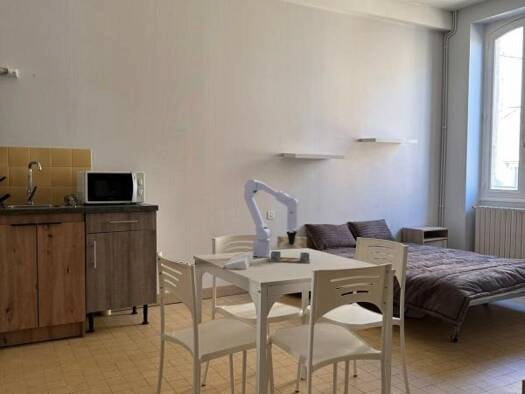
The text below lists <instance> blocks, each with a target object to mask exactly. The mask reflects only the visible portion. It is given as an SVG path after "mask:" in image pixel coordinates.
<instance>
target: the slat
mask: <svg viewBox="0 0 525 394" xmlns="http://www.w3.org/2000/svg"><path fill="white" fill-rule="evenodd" d="M276 240H277V243H276V248H281V249H282V248H283V249H286V248H287V249H288V248H289V249H307V236H295V239H294V244H293V245H290V244H289V238H288V235H285V236H284V235H280V236H279V235H278V236H277V239H276Z"/></svg>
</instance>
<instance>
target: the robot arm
mask: <svg viewBox="0 0 525 394" xmlns="http://www.w3.org/2000/svg"><path fill="white" fill-rule="evenodd" d="M243 187H244V195H243V196H244V197H243V198H244V200H245V203H246V205H247V207H248V211H249V212H250V215H251V218H252V220H253V222H254V224H255V232H256V233H255V234H256V238H257V240H255V239H254V240H253V250H252V254H253V256H257V258H271V239H270V238H271V236H272V231H271V229H269V228H268V225H267V224H266V222H265V221H264V219H263V217H262V214H261V212H260V209H259V207H258V204H257V202H256V199H255V196H256V194H257V192H258V191H264V192H266V193H268V194H269V195H271V196H273V197H274V199H275V200H276V201H277V202H278V203H280V204H283V205H284V206H286V207H287V212H286V213H287V214H286V215H287V216H286V217H287V218H286V220H287V221H286V230H288V231H286V236H288V238H289V244H290V245H293V244H294V239H295V237H297V233H298V231H297V230H300V227H298V214H299V213H298V208H299V204H300V201H299V199H297V198H295V197H293V196H292V195H289V194H287V193H286V191H282V190H280V191H279V190H278V191H277V190H276V189H275V188H272V187H271V186H269V184H266V183H264V182H263V181H260V180H259V179H248V180H247V181H246V182H245V184H244V186H243Z"/></svg>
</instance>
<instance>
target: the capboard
mask: <svg viewBox="0 0 525 394" xmlns="http://www.w3.org/2000/svg"><path fill="white" fill-rule="evenodd" d="M270 254H271V256H270V259H269V262H270V263H286V262H289V264H310V263H311V258H310V252H303V251H300V254H299V255H300V256H299V257H282V256H281V251H278V250H277V251H275V250H273V251H270Z"/></svg>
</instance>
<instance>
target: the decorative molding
mask: <svg viewBox="0 0 525 394" xmlns="http://www.w3.org/2000/svg"><path fill="white" fill-rule="evenodd" d="M253 258H254V257H253V250H250V251H247V252H242V253H239V254H234V255H233V256H232V257H231V258H230V259H229V260H228V261H227V262H226V263H225V264H224V267H225V269H227V270H229V269H231V270H236V269H239V270H247V269H248V268H249V266H250V265H251V264H250V263H252V262H253V260H254V259H253Z"/></svg>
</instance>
